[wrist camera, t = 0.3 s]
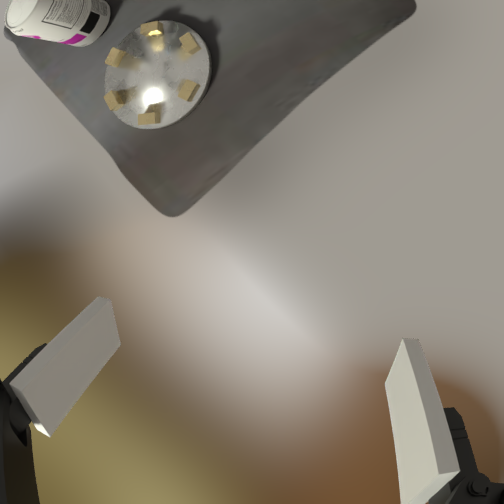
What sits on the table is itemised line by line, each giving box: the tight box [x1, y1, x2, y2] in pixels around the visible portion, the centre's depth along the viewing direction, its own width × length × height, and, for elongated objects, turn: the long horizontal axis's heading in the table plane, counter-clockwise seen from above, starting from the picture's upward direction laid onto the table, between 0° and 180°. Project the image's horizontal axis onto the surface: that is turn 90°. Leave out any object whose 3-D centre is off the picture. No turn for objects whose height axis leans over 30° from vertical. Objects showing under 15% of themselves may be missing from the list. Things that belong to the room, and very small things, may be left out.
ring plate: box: [104, 21, 212, 129], centre depth 34 cm, size 15×15×3 cm
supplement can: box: [5, 0, 110, 47], centre depth 26 cm, size 8×8×15 cm
